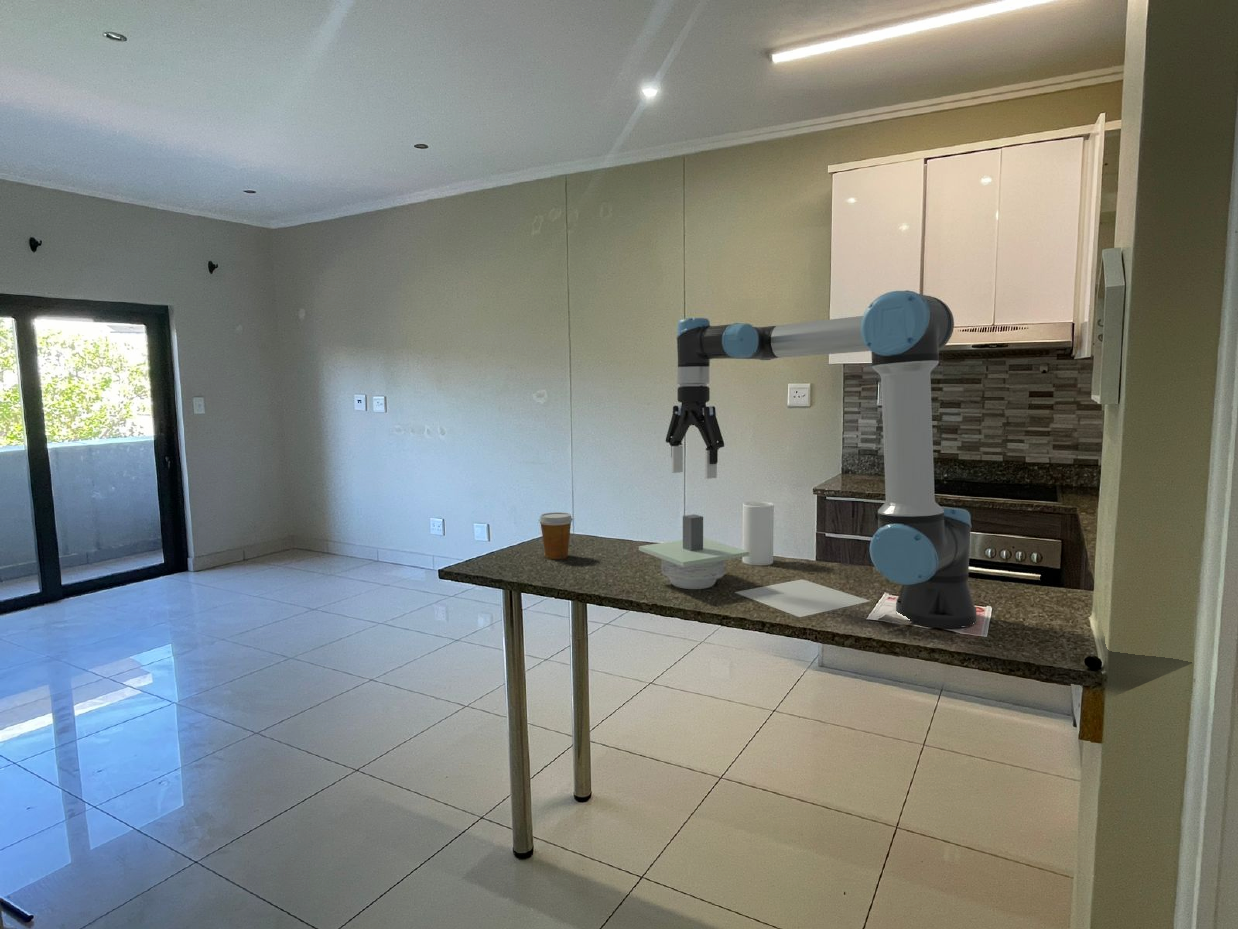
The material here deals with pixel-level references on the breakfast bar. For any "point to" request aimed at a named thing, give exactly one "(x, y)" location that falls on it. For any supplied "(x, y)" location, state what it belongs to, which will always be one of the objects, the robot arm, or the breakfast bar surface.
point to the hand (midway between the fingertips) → (693, 475)
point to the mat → (802, 597)
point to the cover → (693, 546)
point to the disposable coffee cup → (556, 534)
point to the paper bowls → (693, 574)
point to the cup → (758, 532)
